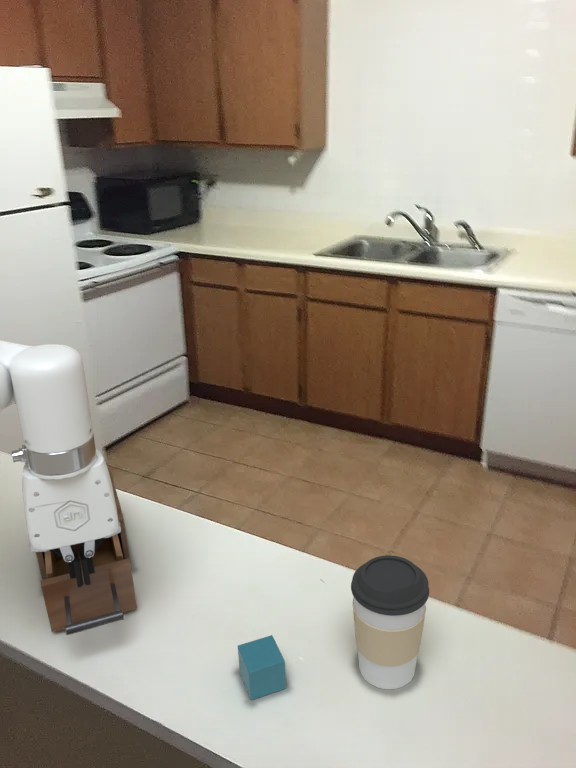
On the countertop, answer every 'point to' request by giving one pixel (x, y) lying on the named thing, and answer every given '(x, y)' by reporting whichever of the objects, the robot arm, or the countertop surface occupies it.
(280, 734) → the countertop surface
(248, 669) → the block
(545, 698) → the countertop surface
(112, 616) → the drawer
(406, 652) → the coffee cup
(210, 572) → the countertop surface
